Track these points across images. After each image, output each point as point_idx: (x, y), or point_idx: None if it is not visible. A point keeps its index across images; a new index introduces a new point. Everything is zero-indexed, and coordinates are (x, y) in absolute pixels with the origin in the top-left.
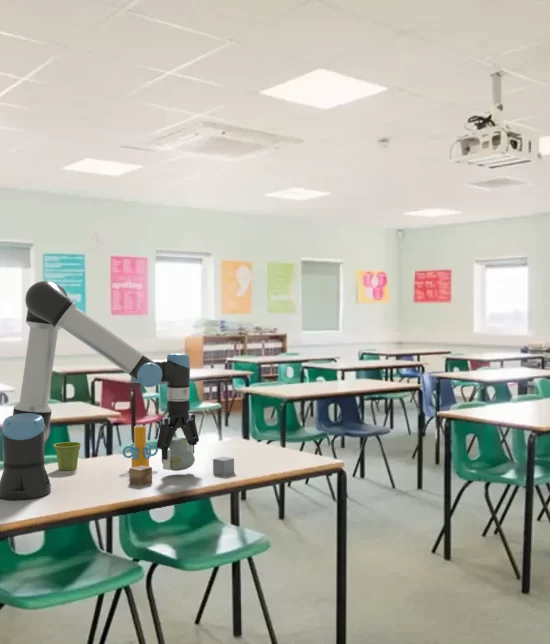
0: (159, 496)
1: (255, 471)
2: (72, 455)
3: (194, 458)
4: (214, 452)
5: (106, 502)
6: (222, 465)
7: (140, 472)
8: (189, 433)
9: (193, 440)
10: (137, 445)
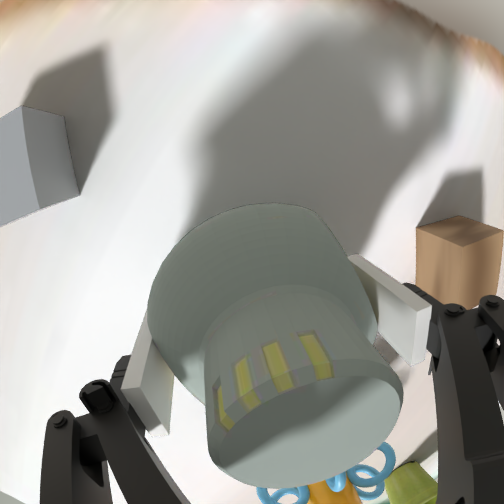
0: (470, 45)
1: None
2: (423, 483)
3: (168, 259)
4: (8, 454)
5: None
6: (39, 123)
7: (494, 228)
8: (155, 495)
9: (106, 425)
10: (359, 497)
